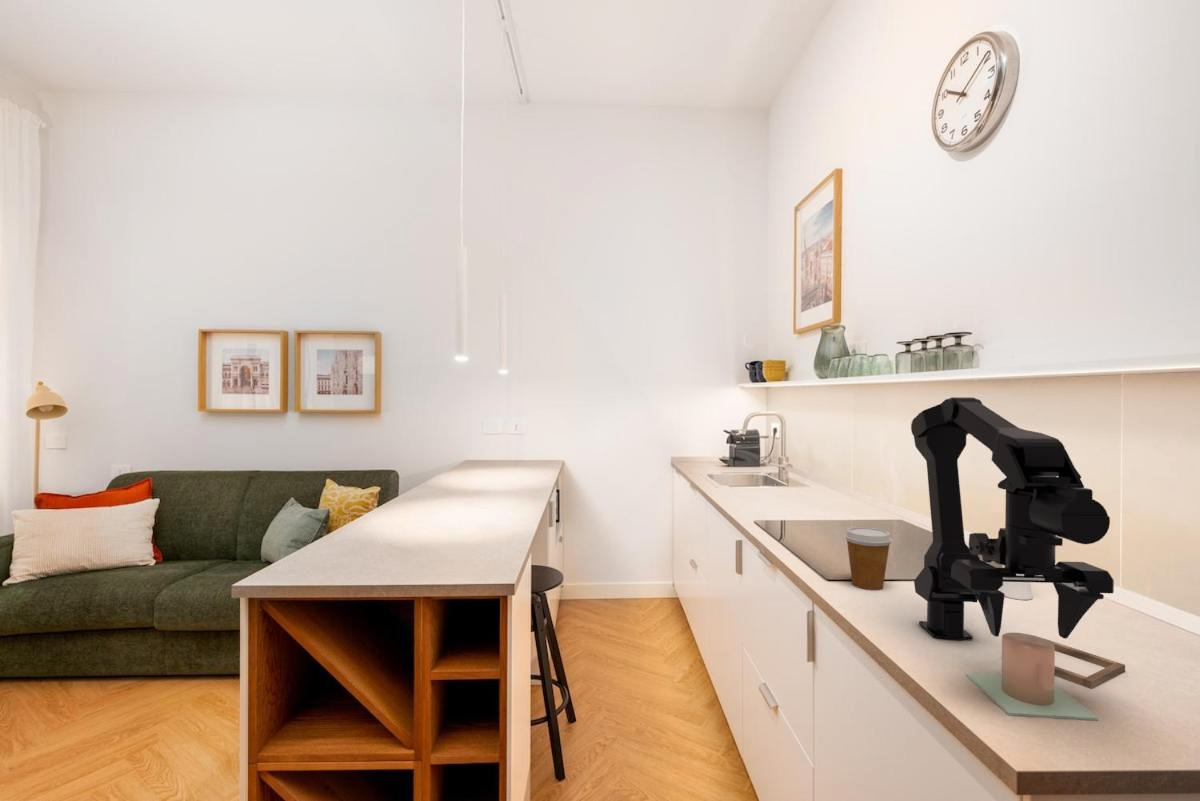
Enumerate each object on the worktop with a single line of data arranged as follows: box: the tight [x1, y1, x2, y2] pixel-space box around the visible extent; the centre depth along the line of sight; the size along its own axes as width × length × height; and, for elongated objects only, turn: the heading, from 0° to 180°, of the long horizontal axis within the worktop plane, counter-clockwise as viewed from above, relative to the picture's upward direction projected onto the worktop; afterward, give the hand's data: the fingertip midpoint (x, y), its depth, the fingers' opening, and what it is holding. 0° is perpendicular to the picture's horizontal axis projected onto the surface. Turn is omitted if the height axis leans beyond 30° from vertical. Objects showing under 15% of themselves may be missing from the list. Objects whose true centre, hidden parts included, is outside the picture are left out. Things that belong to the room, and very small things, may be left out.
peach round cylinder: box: [1001, 632, 1056, 705], centre depth 82 cm, size 7×6×8 cm
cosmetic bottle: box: [998, 565, 1034, 601], centre depth 124 cm, size 6×6×22 cm
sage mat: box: [965, 672, 1099, 721], centre depth 83 cm, size 11×11×1 cm
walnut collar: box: [1042, 637, 1126, 689], centre depth 92 cm, size 11×11×1 cm
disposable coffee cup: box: [844, 526, 893, 591], centre depth 130 cm, size 10×10×12 cm
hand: (1028, 636), depth 82 cm, fingers open, 9 cm apart
